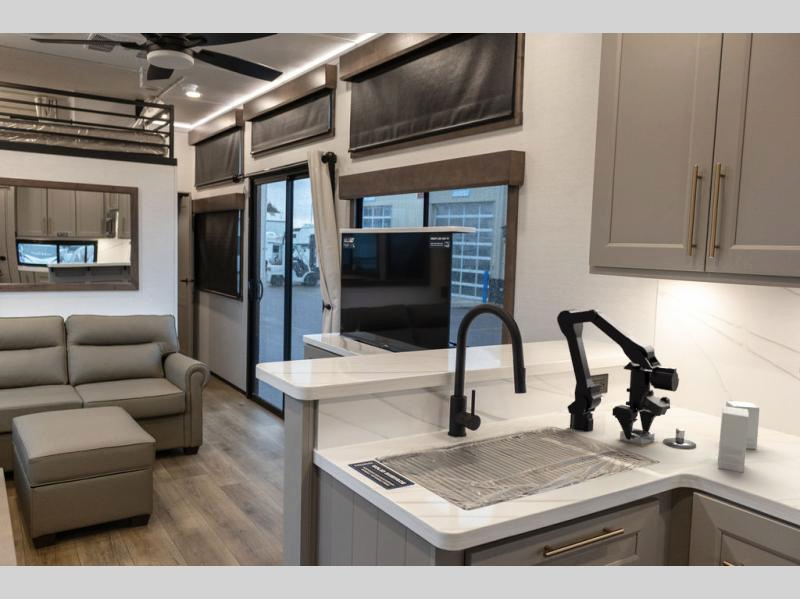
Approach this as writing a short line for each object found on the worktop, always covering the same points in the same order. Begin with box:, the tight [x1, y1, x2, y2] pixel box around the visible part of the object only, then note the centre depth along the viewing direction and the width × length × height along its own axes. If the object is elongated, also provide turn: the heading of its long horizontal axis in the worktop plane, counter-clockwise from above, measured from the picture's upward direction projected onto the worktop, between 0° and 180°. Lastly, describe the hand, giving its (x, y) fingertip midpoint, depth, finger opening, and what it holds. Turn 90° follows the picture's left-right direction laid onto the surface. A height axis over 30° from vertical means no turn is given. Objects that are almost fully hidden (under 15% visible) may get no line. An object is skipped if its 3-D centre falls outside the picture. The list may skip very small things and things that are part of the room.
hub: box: [662, 427, 697, 450], centre depth 188 cm, size 9×9×6 cm
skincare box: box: [717, 405, 749, 473], centre depth 172 cm, size 8×7×16 cm
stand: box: [615, 428, 660, 448], centre depth 190 cm, size 9×9×4 cm
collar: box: [619, 427, 655, 446], centre depth 190 cm, size 7×7×3 cm
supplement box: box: [725, 400, 760, 450], centre depth 192 cm, size 7×7×13 cm
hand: (637, 436), depth 190 cm, fingers open, 9 cm apart
